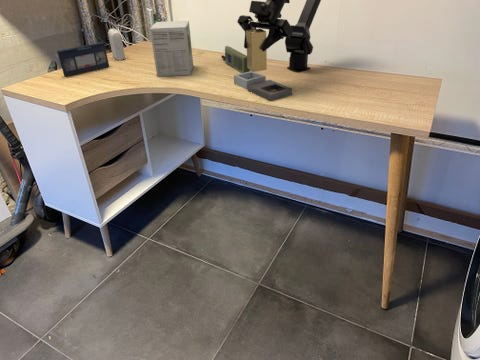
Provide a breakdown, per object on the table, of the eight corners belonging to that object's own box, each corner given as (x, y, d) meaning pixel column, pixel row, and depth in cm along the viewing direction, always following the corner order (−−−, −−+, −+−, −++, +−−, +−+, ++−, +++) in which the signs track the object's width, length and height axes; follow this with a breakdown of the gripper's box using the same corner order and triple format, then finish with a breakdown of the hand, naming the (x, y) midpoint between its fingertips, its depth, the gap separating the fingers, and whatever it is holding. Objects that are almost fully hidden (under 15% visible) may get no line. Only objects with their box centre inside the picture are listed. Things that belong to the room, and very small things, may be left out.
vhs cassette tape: (66, 77, 148) (58, 51, 142) (63, 76, 150) (56, 50, 144) (110, 67, 157) (104, 43, 152) (107, 66, 159) (102, 41, 154)
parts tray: (252, 79, 137) (252, 70, 136) (265, 84, 132) (265, 76, 130) (234, 83, 134) (233, 75, 132) (246, 89, 128) (246, 80, 126)
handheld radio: (243, 75, 142) (218, 60, 162) (250, 74, 143) (225, 59, 163) (243, 57, 139) (218, 44, 158) (251, 56, 140) (225, 43, 159)
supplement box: (190, 75, 144) (185, 27, 135) (156, 76, 144) (149, 28, 135) (194, 65, 155) (189, 20, 146) (162, 66, 156) (155, 21, 146)
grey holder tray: (248, 91, 127) (247, 85, 126) (269, 85, 131) (269, 79, 130) (269, 101, 118) (269, 95, 117) (292, 94, 122) (292, 88, 121)
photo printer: (126, 59, 167) (120, 30, 161) (117, 61, 166) (110, 31, 159) (121, 54, 175) (115, 26, 168) (112, 56, 173) (105, 27, 167)
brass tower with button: (261, 65, 128) (260, 27, 121) (266, 69, 124) (266, 30, 117) (247, 67, 127) (246, 29, 120) (252, 71, 123) (251, 32, 116)
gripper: (239, -12, 120) (219, 31, 119) (288, -10, 110) (266, 37, 109) (254, 10, 129) (236, 50, 128) (301, 14, 119) (281, 58, 118)
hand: (253, 49), depth 121 cm, fingers closed on brass tower with button, 7 cm apart
